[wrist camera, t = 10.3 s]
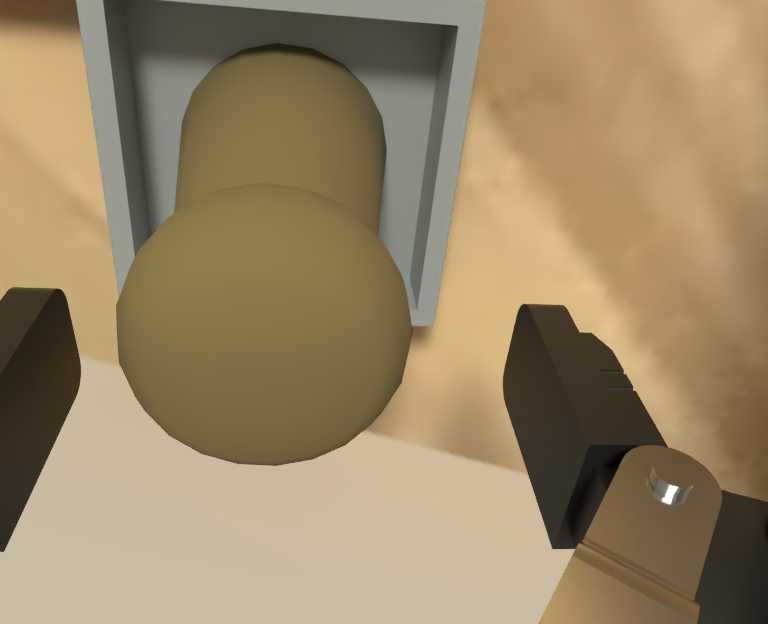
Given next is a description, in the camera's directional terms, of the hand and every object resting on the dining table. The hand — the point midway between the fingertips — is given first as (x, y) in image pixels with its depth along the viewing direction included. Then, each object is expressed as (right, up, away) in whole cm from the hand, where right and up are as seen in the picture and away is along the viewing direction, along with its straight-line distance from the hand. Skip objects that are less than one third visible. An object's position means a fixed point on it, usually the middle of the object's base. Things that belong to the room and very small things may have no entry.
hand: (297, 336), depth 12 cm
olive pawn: (-1, +5, +8) cm, 10 cm away
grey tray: (-1, +6, +8) cm, 10 cm away
